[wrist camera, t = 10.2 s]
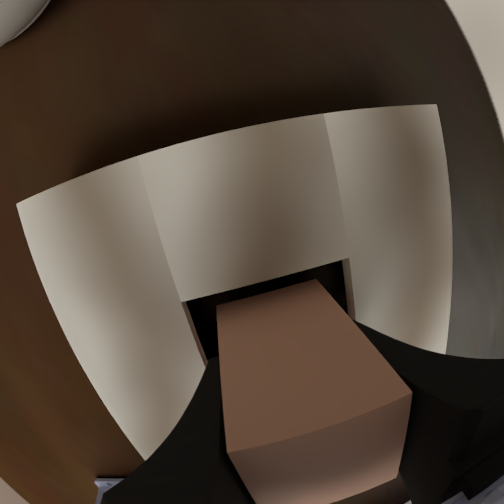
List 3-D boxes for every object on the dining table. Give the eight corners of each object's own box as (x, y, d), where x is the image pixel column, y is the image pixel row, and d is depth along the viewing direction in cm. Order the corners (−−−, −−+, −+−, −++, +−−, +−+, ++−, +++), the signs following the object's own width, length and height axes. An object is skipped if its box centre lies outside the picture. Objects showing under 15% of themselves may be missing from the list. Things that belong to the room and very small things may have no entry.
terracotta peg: (241, 382, 13) (266, 519, 6) (216, 305, 12) (227, 452, 5) (327, 357, 13) (396, 477, 7) (315, 278, 12) (412, 392, 5)
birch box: (170, 433, 18) (166, 486, 13) (66, 190, 13) (16, 203, 9) (401, 368, 19) (434, 408, 14) (381, 115, 14) (436, 104, 10)
